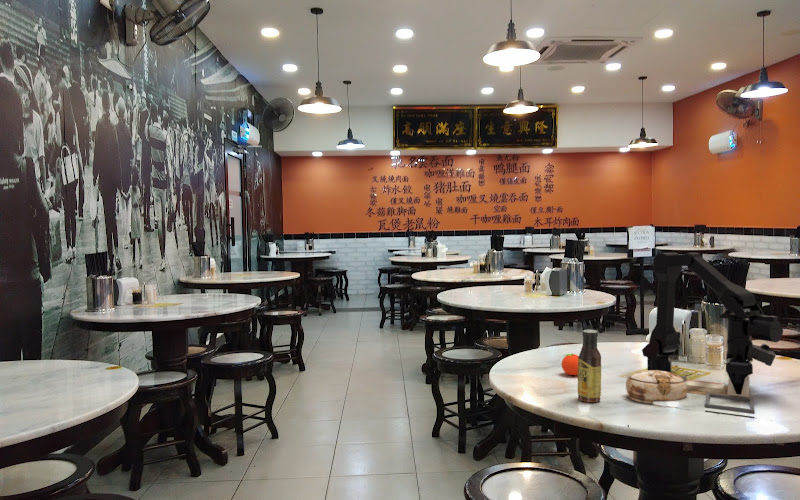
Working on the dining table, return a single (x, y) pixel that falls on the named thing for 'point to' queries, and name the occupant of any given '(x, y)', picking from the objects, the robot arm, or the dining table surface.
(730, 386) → the stub
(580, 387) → the sauce bottle
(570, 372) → the clementine
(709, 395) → the tray
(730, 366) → the robot arm
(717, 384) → the board
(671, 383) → the trinket box
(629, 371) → the dining table surface
